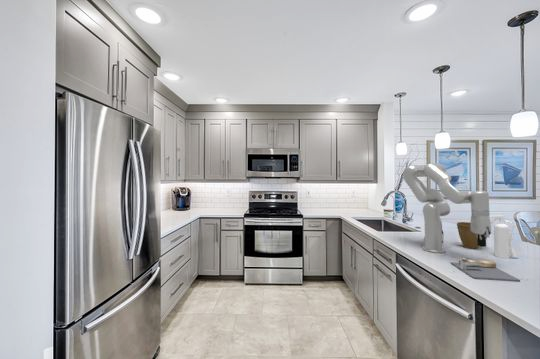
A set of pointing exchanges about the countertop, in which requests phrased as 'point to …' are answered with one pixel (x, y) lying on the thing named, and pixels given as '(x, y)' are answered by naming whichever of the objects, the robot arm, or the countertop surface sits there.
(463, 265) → the steel keeper
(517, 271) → the countertop surface
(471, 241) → the plant pot
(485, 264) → the oak link
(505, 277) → the charcoal mat
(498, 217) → the white bottle
